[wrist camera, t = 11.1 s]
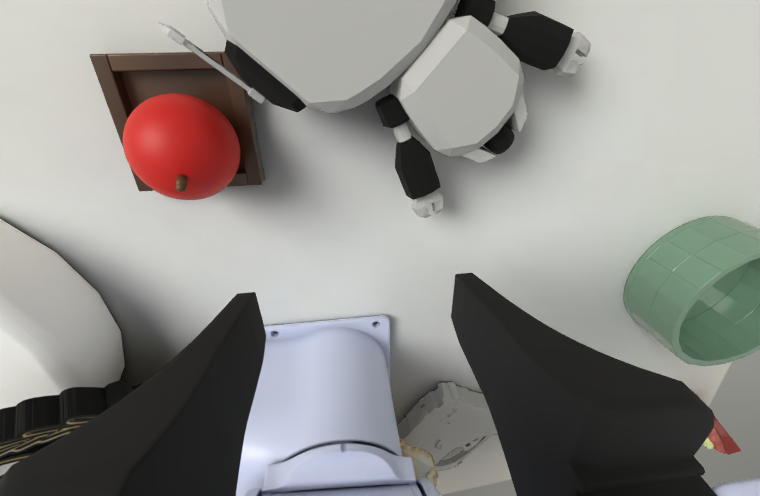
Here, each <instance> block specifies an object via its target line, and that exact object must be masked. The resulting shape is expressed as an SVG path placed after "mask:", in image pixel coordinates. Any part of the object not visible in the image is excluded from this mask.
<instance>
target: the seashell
mask: <svg viewBox="0 0 760 496" xmlns="http://www.w3.org/2000/svg"><path fill="white" fill-rule="evenodd" d="M399 441H400V446H401V452H402V457H411V458H412V461H413V466H414V471H415V476H416V478H426V479H429V480H430V481H431V482H432V483H433V485H434V486H435V487H436V486H437V480H436V479H437V478H438V474H437V472H436V469H435V459H434V457H433V456H432V454H431V453H430V452H429V451H427V450H424V449H421V448H418V447H415V446H413V445H411V444H409V443H407V442H406V441H405V440H403V439H401V438H399Z"/></svg>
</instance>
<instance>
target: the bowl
mask: <svg viewBox="0 0 760 496" xmlns="http://www.w3.org/2000/svg"><path fill="white" fill-rule="evenodd" d="M624 303H625V307H626V309H627V311H628V313H629V314H630V315H631V316H632V317H633V318H634V320H635V321H637V322H638V323H639V324H640V325H641V326H642V327H643V328H645V329H646V330H647V331H648V332H649V333H650V334H652V335H653V336H654V337H655V338H656V339H657V340H658V341H660V342H661V343H662V344H663V345H664V346H665V347H667V348H668V349H669V350H670V351H671V352H672V353H673V354H675V355H676V356H677V357H679V358H680V359H681V360H683V361H684V362H686V363H688V364H693V365H699V366H710V365H719V364H725V363H728V362H731V361H734V360H737V359H740V358H743V357H745V356H747V355H749V354H751V353H753V352H755V351H757V350H759V349H760V228H758V227H756V226H753V225H751V224H748V223H745V222H742V221H739V220H737V219H734V218H731V217H726V216H711V217H705V218H701V219H697V220H694V221H691V222H688V223H686V224H684V225H682V226H680V227H678V228H676V229H674V230H672V231H671V232H669V233H668V234H666V235H665V236H663V237H662V238H661V239H659V240H658V241H657V242H656V243H654V244H653V245H652V246H651V247H650V248H649V249H648V250H647V251H646V252H645V253H644V254H643V255H642V257H641V258H640V259H639V260H638V262H637V263H636V264H635V266H634V268H633V269H632V271H631V273H630V275H629V277H628V279H627V282H626V285H625V289H624Z"/></svg>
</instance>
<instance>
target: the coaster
mask: <svg viewBox="0 0 760 496" xmlns="http://www.w3.org/2000/svg"><path fill="white" fill-rule="evenodd" d="M205 53H206V54H207V55H209V56H210V57H212V58H213V59H214V60H216V61H217V62H218V63H220V64H221V65H222V66H224V67H225V68H227V69H228V70H229V71H231V72H232V73H233V74H235V75H236V76H237V77H239V78H240V79H242V78H241V77H240V75H239V74H238V72H237V71H236V69H235V68H234V66H233V65H232V63H231V62H230V60H229V59H228V57H227V55H226V54H225V52H205ZM90 58H91V61H92V63H93V66H94V69H95V72H96V74H97V77H98V80H99V82H100V85H101V88H102V91H103V93H104V96H105V99H106V102H107V104H108V107H109V110H110V113H111V115H112V118H113V121H114V124H115V126H116V129H117V132H118V134H119V137H120V140H121V143H122V145H123V132H124V127H125V124H126V122H127V119H128V117H129V116H130V114H131V113H132V111H133V110H134V109H135V108H136V107H137V106H138V105H140V104H141V103H142V102H144V101H145V100H147V99H149V98H151V97H154V96H158V95H161V94H167V93H179V94H186V95H191V96H194V97H197V98H200V99H202V100H204V101H206V102H208V103H210V104H211V105H213V106H214V107H216V108H217V109H218V110H219V111H220V112H221V113H222V114H223V115H224V116H225V117H226V118H227V119H228V120H229V122H230V123H231V125H232V126H233V128H234V130H235V132H236V134H237V137H238V140H239V145H240V163H239V167H238V170H237V172H236V175H235V176H234V178H233V179H232V181H231V182H230V183H229V184H228V185H227V186H226V187H228V186H246V185H262V183H263V181H264V180H265V176H264V171H263V165H262V160H261V154H260V149H259V143H258V138H257V132H256V127H255V121H254V116H253V110H252V105H251V99H250V96H249V95H248V92H247V90H245V89H244V88H243V87H241V86H240V85H238V84H237V83H236V82H234V81H233V80H231V79H230V78H229V77H227V76H226V75H224V74H223V73H222V72H220V71H219V70H217V69H216V68H215V67H213V66H212V65H211V64H209V63H208V62H206V61H205V60H204V59H202V58H201V57H199V56H198V55H197V54H195V53H194V52H181V53H127V54H90ZM244 82H245V81H244ZM123 148H124V147H123ZM131 170H132V168H131ZM132 173H133V176H134V178H135V181H136V184H137V186H138V189H139V191H152V190H153V189H152V188H150V187H149V186H148V185H146V184H145V183H144V182H143V181H142V180H141V179H140V178H139V177H138V176H137V175H136V174H135V172H134V171H133V170H132Z"/></svg>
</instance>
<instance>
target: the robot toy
mask: <svg viewBox="0 0 760 496" xmlns="http://www.w3.org/2000/svg"><path fill="white" fill-rule="evenodd" d="M456 2H457V0H208V8H209V10H210V12H211V13H212V15H213V17H214V18H215V20H216V22H217V24H218V25H219V27H220V29H221V31H222V32H223V34H224V36H225V37H226V39H227V42H226V47H225V54H226V55H227V57H228V59H229V60H230V62H231V63H232V65H233V66H234V68H235V69H236V71H237V72H238V74H239V75H240V77H241V78H242V79H240V78H239V77H237V76H236V75H235V74H233V73H232V72H231V71H229V70H228V69H227V68H225V67H224V66H222V65H221V64H220V63H218V62H217V61H216V60H214V59H213V58H212V57H210V56H209V55H207V54H206V53H205V52H203V51H202V50H201V49H199V48H198V47H197V46H195V45H194V44H192V43H191V42H190V41H188V40H187V39H186V38H185V36H184V35H182V34H181V33H180V32H178V31H177V30H176V29H174V28H173V27H171V26H168V25H165V24H161V23H159V24H160V26H161V27H162V29H163V30H164V31H165V33H166V34H167V35H168V36H169V37H171V38H172V39H173V40H175V41H176V42H178V43H179V44H180V45H182V44H183V45H184V46H185V47H187V48H188V49H190V50H191V51H192V52H194V53H195V54H197V55H198V56H199V57H201V58H202V59H204V60H205V61H206V62H208V63H209V64H211V65H212V66H213V67H215V68H216V69H217V70H219V71H220V72H222V73H223V74H224V75H226V76H227V77H229V78H230V79H231V80H233V81H234V82H236V83H237V84H238V85H240V86H241V87H243V88H244V89H245V90H247V92H248V95H249V96H251V97H252V98H253V99H255V100H256V101H258V102H259V103H260V104H262V103H263V101H264V100H265V98H266V99H267V100H268V101H270V102H271V103H272V104H274V105H277V106H280V107H283V108H286V109H289V110H292V111H295V112H299V111H301V110H302V109H304V108H305V107H309V108H313V109H316V110H320V111H323V112H327V113H330V114H332V113H336V112H340V111H344V110H348V109H352V108H355V107H357V106H359V105H361V104H363V103H364V102H366V101H368V100H369V99H371V98H372V97H373V96H375V95H376V94H378V93H379V92H381V91H382V90H383V89H385V88H386V87H388V86H389V85H390V95H388V96H386V97H384V98H382V99H380V100H378V101H377V102H376V104H375V106H376V109H377V111H378V114H379V116H380V119H381V121H382V124H383V126H385V127H389V128H392V129H393V132H394V134H395V137H396V139H397V146H396V158H395V169H396V171H397V173H398V176H399V178H400V181H401V183H402V186H403V188H404V191H405V193H406V195H407V196H408V197H410V198H411V199H413V200H412V209H413V210H414V211H415V213H416V214H417V215H418V216H420V217H424V218H427V217H429V216H431V215H430V214H429V212H428V210H427V208H426V206H427V205H429V204H431V203H432V205H433V211H435V214H436V213H438V212H440V211H441V210H442V209H443V207H444V196H443V192H441V191H440V190H439V189H438V188H440V182H439V179H438V176H437V173H436V170H435V167H434V164H433V161H432V158H431V155H430V152H429V151H428V150H427V149H426V148H425V147H424V146H423V145H422V144H421V143H420V142H419V141H418V140H416V139H415V138H414V137H413V136H412V135H411V133H410V130H409V127H408V125H407V121H408V122H409V123H410V124H411V125H412V127H413V128H414V129H415V130H416V132H417V133H418V134H419V135H420V136H421V138H422V139H423V140H424V141H426V142H427V143H428V144H429V145H430V146H431V147H432V148H433V149H434V150H435V151H438V152H440V153H443V154H445V155H447V156H450V157H454V156H463V157H466V158H469V159H471V160H474V161H476V162H479V163H482V162H485V161H487V160H490V159H492V158H494V157H497V156H496V155H494V154H493V153H495V154H501V153H503V152H505V151H506V150H507V149H508V148H509V147H510V146H511V144H512V143H513V141H514V133H513V132H512V130H514V131H517V132H519V133H520V132H521V130H522V127H523V125H524V123H525V121H526V118H527V116H528V113H527V109H526V105H525V100H524V96H523V84H524V75H523V71H522V68H521V64H520V61H521V62H524V63H526V64H529V65H531V66H534V67H536V68H539V69H541V70H547V69H551V68H553V70H554V71H555V73H556V74H557V76H571V75H574V74H575V73H577V72H578V71H579V70H580V69H581V67H582V65H583V64H579V63H576V62H573V61H571V60H572V58H573V56H574V54H575V53H577V54H578V55H579V56H580V57H582V56H585V57H587V55H588V53H589V51H590V42H589V41H588V40H587V39H586V38H585V37H584V36H583V35H582V34H581V33H580V32H574V33H573V30H574V29H572V28H570V27H568V26H566V25H564V24H562V23H559V22H557V21H555V20H553V19H551V18H548V17H546V16H544V15H542V14H540V13H537V12H535V11H533V12H527V13H520V14H515V15H511V16H507V17H506V16H503V15H501V14H499V13H497V12H494V9H495V1H494V0H460V3H459V5H458V8H457V11H456V14H455V17H452V18H447V16H448V15H449V13H450V11H451V10H452V8H453V6H454V5H455V3H456ZM446 18H447V19H446ZM496 35H497V36H496ZM244 81H245V82H244ZM511 129H512V130H511ZM482 145H484V146H485V147H486V148H487V149H488V150H490V151H491V152H493V153H491V152H490V151H488V150H486V149H485V148H483V147H482Z"/></svg>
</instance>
